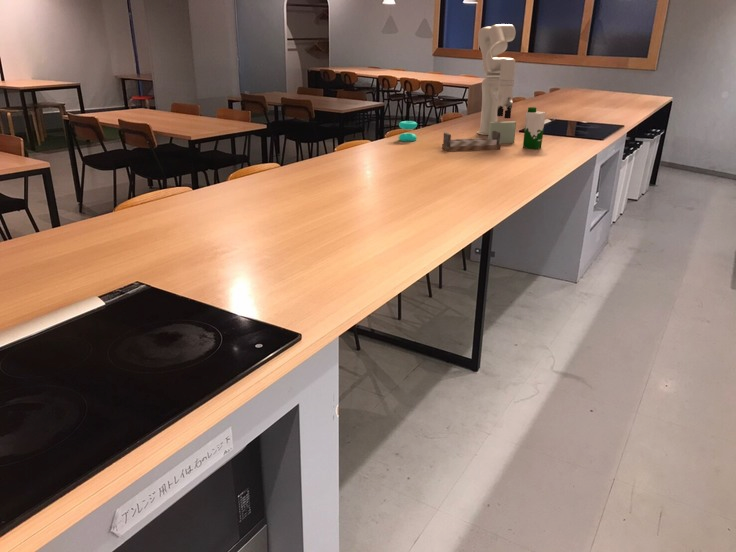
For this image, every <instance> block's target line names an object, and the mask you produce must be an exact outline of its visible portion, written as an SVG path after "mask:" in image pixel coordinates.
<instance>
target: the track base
mask: <svg viewBox="0 0 736 552" xmlns="http://www.w3.org/2000/svg"><path fill="white" fill-rule="evenodd" d="M442 141H443V143H442V145H441V148H442V149H443V148H444V149H443V150H445V151H447V152H465V151H466V152H467V151H490V150H491V151H492V150H493V151H494V150H501V143H500V133H499V132H497V131H492V138H488V137H481V138H480V137H478V138H476V137H474V138H453V139H452V135H451V134H450V133H449V132H443V140H442Z"/></svg>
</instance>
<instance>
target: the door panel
mask: <svg viewBox="0 0 736 552" xmlns="http://www.w3.org/2000/svg"><path fill="white" fill-rule="evenodd" d="M516 127H517V121H497V122H489V134H488V135H487V138H492V131H497V132H499V133H500V143H499V144H514V143H515V140H516V139H515V138H516Z"/></svg>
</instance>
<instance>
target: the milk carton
mask: <svg viewBox="0 0 736 552" xmlns="http://www.w3.org/2000/svg"><path fill="white" fill-rule="evenodd" d="M546 114H547V112H545V111H540V110H539V111H537V107H534V106H533V107H532V106H530V107H528V109H527V111H526V112H525V124H524V134H523V143H522V148H523V149H529V150H538V149H541V148H542V144H543V135H544V130H545V128H544V127H545V121H546V116H547V115H546Z"/></svg>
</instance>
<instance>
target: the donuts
mask: <svg viewBox="0 0 736 552" xmlns="http://www.w3.org/2000/svg"><path fill="white" fill-rule="evenodd" d="M398 126H399V128H400V129H403V130H415V129H416V128H417V126H418V123H417V122H416V121H413V120H404V121H400V122H399V123H398ZM417 138H418V137H417V135H416V134H415V133H410V132H404V133H401V134H400V135H399V136H398V140H399V141H401V142H406V141H410V142H414V141H416V140H417Z"/></svg>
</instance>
